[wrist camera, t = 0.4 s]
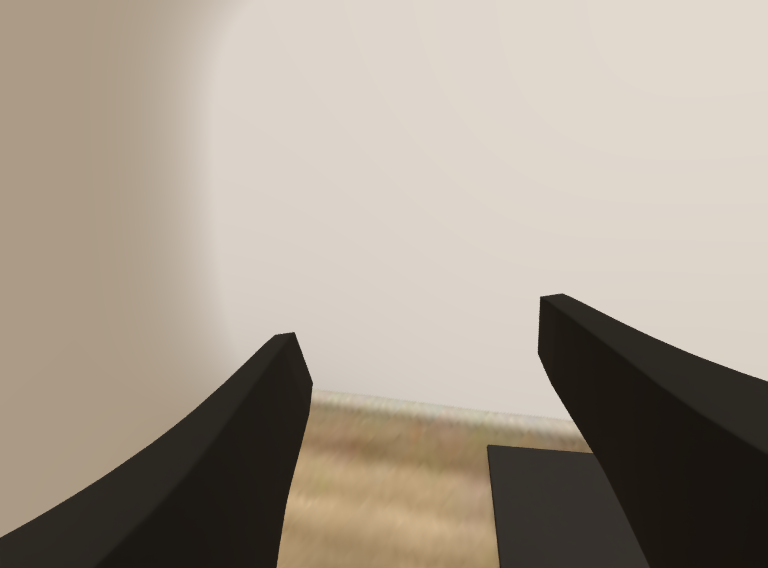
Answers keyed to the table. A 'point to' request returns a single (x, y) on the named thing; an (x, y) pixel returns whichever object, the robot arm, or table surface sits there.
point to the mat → (558, 511)
